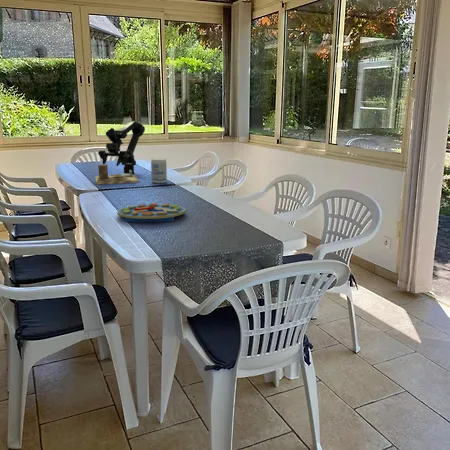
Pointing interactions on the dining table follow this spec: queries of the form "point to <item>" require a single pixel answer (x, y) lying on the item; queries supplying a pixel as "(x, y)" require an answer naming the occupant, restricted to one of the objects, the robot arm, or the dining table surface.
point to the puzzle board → (117, 179)
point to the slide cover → (127, 174)
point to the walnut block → (103, 171)
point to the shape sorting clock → (151, 212)
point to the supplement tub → (158, 170)
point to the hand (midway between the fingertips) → (110, 165)
